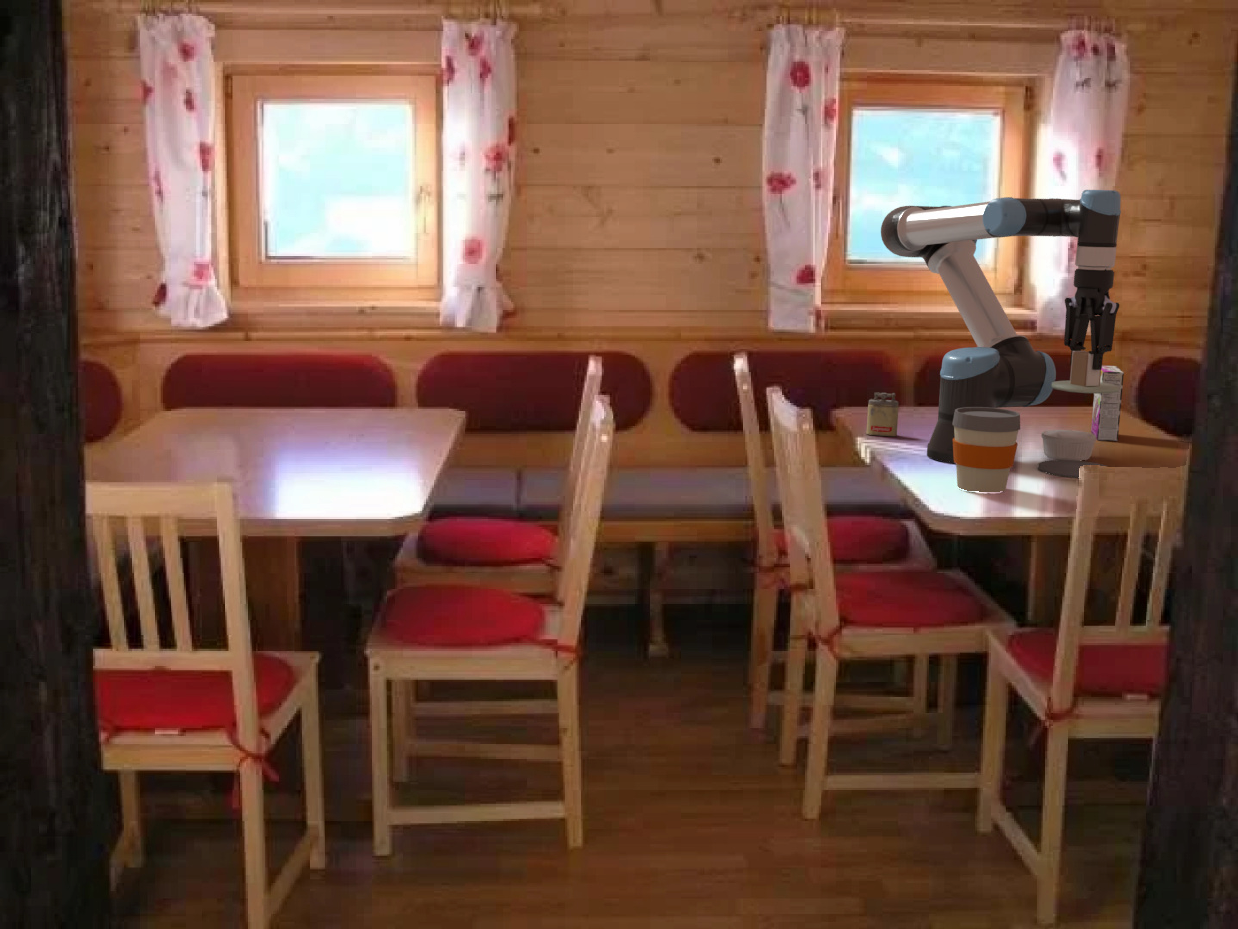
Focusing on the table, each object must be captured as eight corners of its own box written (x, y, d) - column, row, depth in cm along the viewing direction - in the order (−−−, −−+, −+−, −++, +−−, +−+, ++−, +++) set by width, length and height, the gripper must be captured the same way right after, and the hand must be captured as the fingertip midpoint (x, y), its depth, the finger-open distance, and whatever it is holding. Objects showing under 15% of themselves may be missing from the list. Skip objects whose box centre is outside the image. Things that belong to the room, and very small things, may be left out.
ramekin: (1029, 454, 296) (1031, 430, 295) (1069, 451, 300) (1071, 428, 299) (1063, 464, 286) (1065, 439, 285) (1105, 461, 290) (1107, 437, 289)
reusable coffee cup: (1025, 496, 253) (1031, 417, 250) (960, 496, 252) (965, 417, 249) (1001, 482, 266) (1007, 407, 263) (939, 481, 265) (944, 406, 262)
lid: (1080, 394, 266) (1084, 357, 265) (1037, 385, 278) (1040, 350, 277) (1132, 392, 271) (1136, 356, 270) (1088, 383, 283) (1091, 348, 281)
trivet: (1070, 480, 269) (1070, 476, 268) (1022, 465, 282) (1023, 462, 282) (1130, 476, 274) (1130, 472, 274) (1080, 462, 288) (1080, 458, 287)
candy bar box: (1089, 432, 324) (1095, 364, 321) (1111, 433, 323) (1117, 365, 320) (1095, 440, 314) (1102, 370, 310) (1118, 441, 313) (1125, 371, 309)
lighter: (865, 435, 314) (868, 392, 312) (866, 432, 317) (869, 390, 315) (896, 437, 312) (899, 394, 310) (897, 434, 316) (900, 392, 314)
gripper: (1140, 270, 263) (1128, 389, 268) (1081, 265, 279) (1070, 377, 283) (1109, 270, 261) (1098, 390, 265) (1051, 265, 276) (1041, 378, 281)
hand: (1084, 383), depth 274 cm, fingers closed on lid, 4 cm apart
